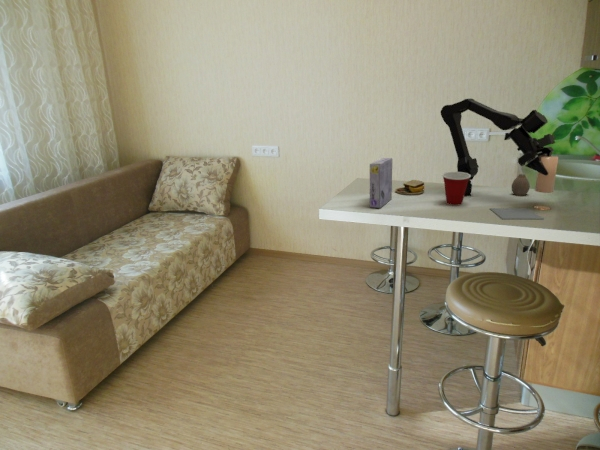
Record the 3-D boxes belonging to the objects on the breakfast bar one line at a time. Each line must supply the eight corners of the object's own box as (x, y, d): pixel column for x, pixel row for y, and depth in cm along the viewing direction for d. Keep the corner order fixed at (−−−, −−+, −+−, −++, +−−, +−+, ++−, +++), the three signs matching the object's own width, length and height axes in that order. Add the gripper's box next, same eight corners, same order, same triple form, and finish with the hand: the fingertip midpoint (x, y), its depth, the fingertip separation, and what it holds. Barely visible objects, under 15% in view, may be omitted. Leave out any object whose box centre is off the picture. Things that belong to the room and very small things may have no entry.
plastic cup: (439, 205, 175) (441, 176, 172) (440, 199, 185) (442, 171, 181) (468, 207, 171) (471, 177, 168) (468, 201, 181) (471, 172, 178)
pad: (502, 219, 155) (502, 218, 155) (489, 209, 169) (489, 208, 168) (543, 219, 154) (544, 218, 154) (527, 209, 167) (527, 208, 167)
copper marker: (537, 209, 166) (537, 209, 166) (531, 206, 172) (531, 205, 172) (552, 209, 166) (552, 209, 166) (546, 206, 171) (546, 205, 171)
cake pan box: (381, 197, 191) (383, 156, 186) (393, 198, 189) (394, 157, 184) (368, 208, 175) (369, 163, 169) (380, 209, 172) (381, 164, 167)
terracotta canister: (539, 192, 164) (544, 158, 160) (532, 189, 170) (537, 155, 166) (556, 192, 164) (561, 157, 160) (548, 189, 169) (553, 155, 166)
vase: (510, 195, 188) (512, 175, 186) (511, 192, 194) (513, 172, 192) (528, 197, 185) (530, 176, 183) (528, 193, 191) (531, 173, 188)
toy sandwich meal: (389, 191, 202) (390, 181, 201) (413, 188, 208) (414, 178, 206) (406, 197, 191) (407, 186, 190) (431, 193, 197) (432, 183, 195)
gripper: (531, 128, 157) (559, 163, 152) (552, 125, 169) (579, 156, 164) (506, 149, 165) (533, 182, 160) (528, 144, 177) (553, 175, 172)
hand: (550, 173), depth 164 cm, fingers closed on terracotta canister, 6 cm apart
